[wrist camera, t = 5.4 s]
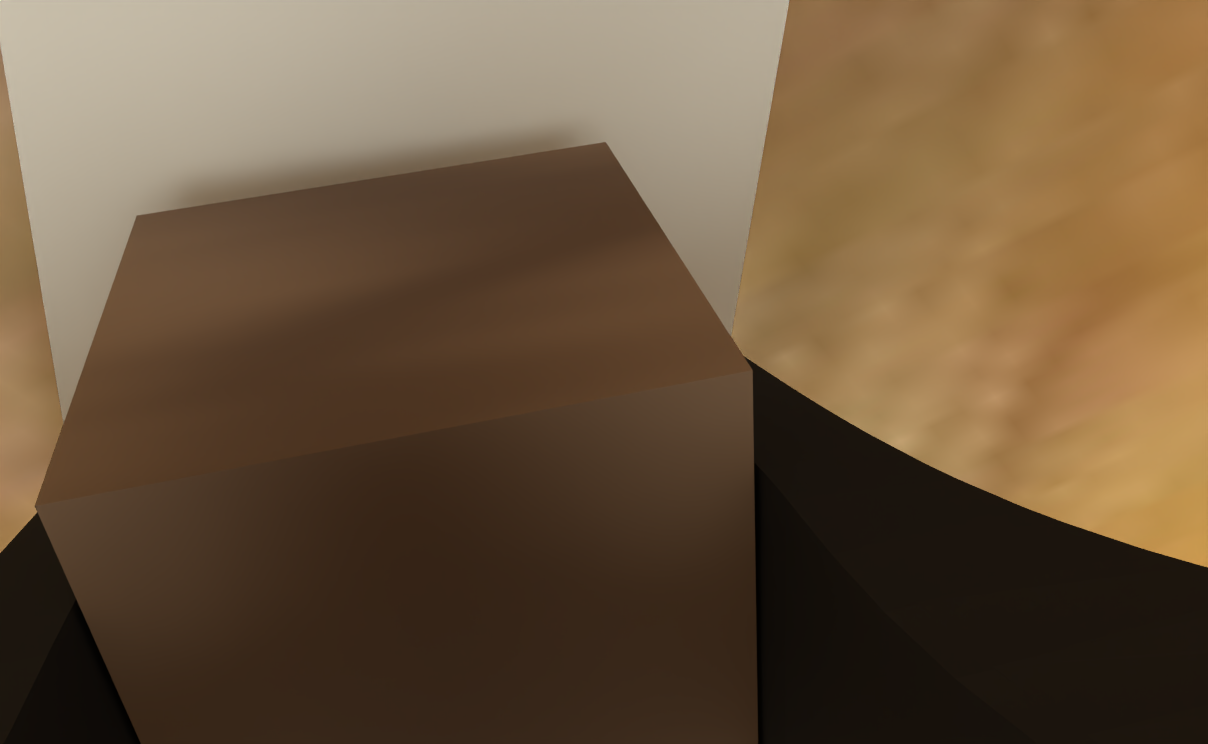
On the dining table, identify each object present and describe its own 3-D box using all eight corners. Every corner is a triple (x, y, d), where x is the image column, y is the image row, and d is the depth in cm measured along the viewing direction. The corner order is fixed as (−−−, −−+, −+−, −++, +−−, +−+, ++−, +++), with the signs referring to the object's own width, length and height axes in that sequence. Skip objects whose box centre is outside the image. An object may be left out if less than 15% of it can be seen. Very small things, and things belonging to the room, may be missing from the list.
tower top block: (731, -108, 14) (802, -73, 12) (640, 531, 19) (679, 634, 17) (31, -165, 12) (-31, -135, 10) (132, 557, 17) (106, 677, 15)
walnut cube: (606, 141, 11) (752, 370, 7) (636, 499, 14) (758, 810, 10) (137, 215, 11) (34, 505, 7) (254, 576, 13) (228, 939, 9)
